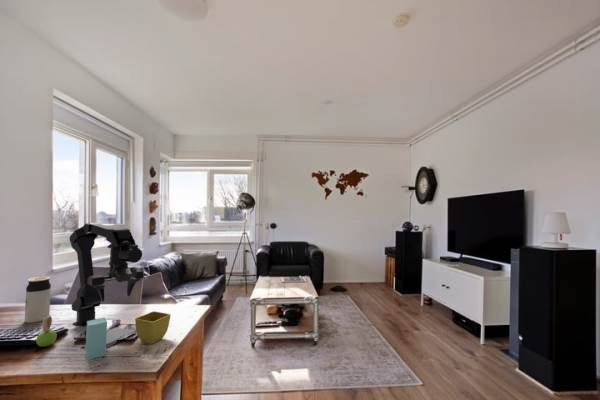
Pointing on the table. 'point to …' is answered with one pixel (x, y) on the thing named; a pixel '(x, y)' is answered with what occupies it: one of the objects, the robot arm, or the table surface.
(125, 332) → the coaster
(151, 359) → the table surface
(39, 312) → the travel mug
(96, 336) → the block
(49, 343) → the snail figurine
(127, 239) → the robot arm
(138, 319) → the flower pot
